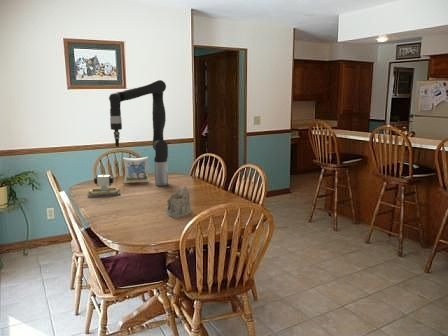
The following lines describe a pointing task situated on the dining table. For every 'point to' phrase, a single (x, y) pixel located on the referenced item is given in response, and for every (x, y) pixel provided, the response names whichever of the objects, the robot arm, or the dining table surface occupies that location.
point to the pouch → (136, 169)
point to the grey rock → (179, 204)
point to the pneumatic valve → (103, 181)
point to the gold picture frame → (98, 193)
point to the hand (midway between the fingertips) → (117, 145)
